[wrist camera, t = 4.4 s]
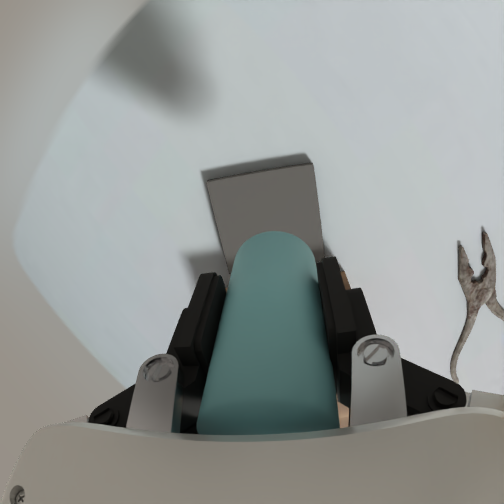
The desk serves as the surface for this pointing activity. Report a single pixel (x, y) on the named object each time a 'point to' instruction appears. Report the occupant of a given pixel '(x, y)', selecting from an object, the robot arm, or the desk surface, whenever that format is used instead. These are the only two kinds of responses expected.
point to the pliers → (476, 294)
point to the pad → (267, 207)
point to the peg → (270, 346)
